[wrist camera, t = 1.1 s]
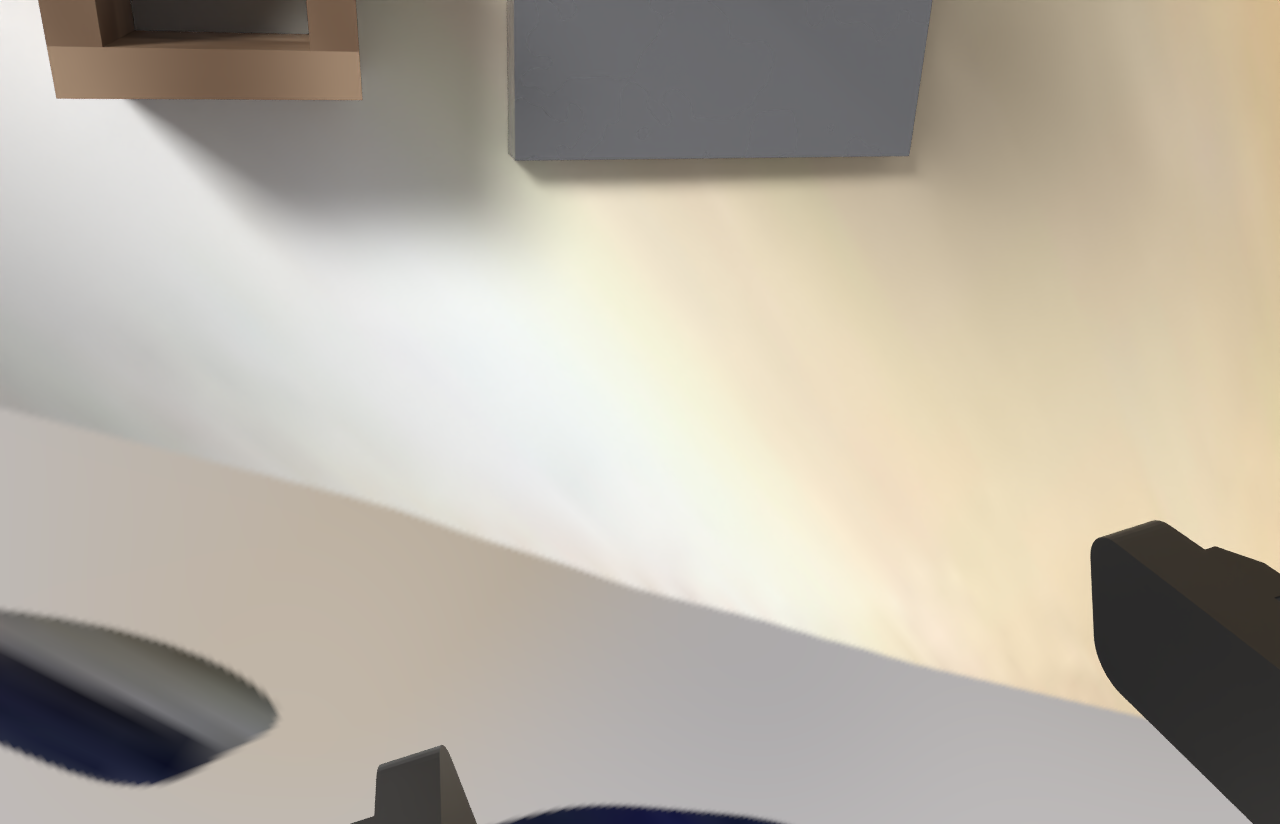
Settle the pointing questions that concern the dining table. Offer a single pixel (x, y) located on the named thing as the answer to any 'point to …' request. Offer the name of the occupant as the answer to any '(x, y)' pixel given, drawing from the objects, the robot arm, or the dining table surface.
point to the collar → (199, 56)
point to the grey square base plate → (713, 78)
